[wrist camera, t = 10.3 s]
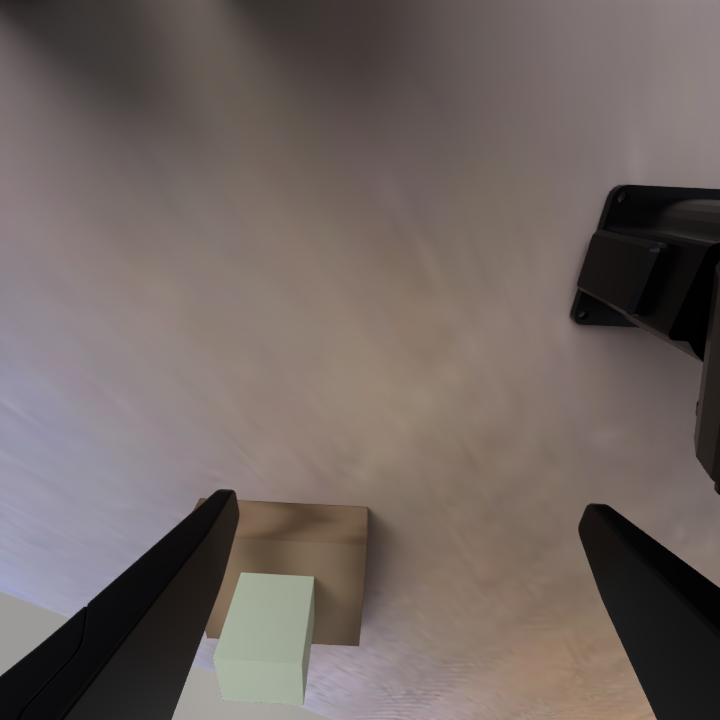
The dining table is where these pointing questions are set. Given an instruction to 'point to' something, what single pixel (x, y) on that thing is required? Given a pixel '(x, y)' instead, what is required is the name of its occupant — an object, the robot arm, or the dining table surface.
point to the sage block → (267, 640)
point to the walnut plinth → (302, 561)
